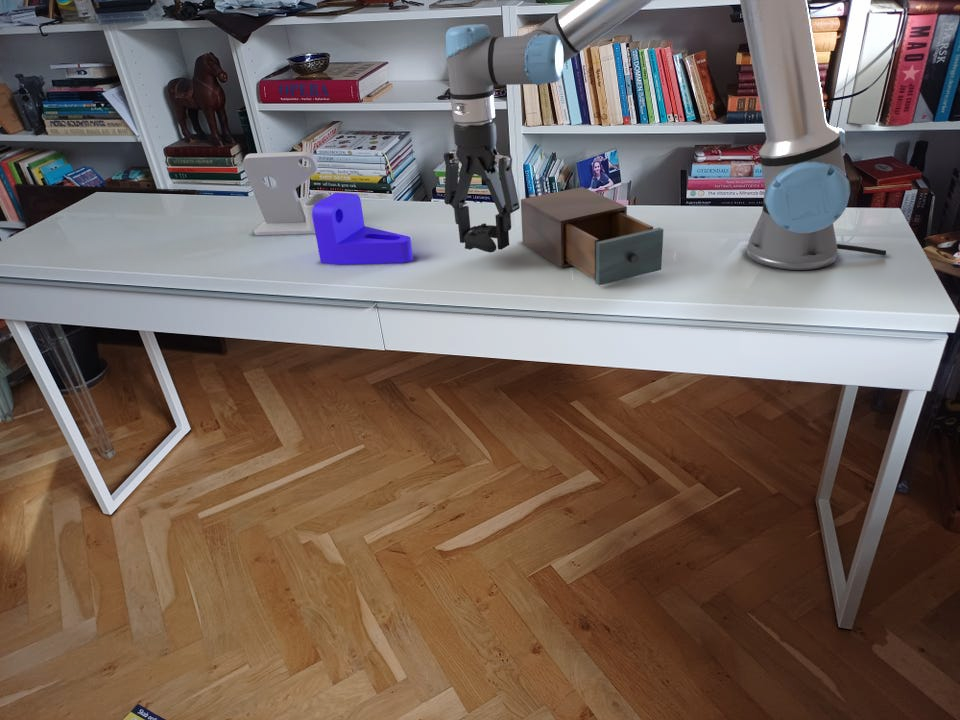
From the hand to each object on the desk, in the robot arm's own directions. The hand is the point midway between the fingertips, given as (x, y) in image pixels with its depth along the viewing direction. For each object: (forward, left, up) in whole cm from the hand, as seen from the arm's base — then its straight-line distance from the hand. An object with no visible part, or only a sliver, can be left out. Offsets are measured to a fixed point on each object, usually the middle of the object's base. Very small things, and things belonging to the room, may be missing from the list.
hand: (484, 243), depth 141 cm
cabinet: (-11, -15, -4) cm, 19 cm away
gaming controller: (0, 0, 0) cm, 1 cm away
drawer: (-22, -8, -3) cm, 24 cm away
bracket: (+23, +7, -4) cm, 25 cm away
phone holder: (+53, +1, -4) cm, 54 cm away
